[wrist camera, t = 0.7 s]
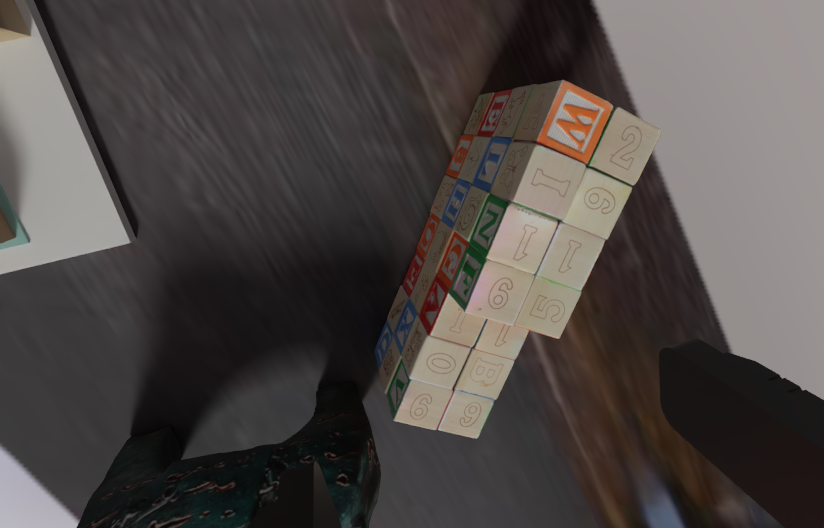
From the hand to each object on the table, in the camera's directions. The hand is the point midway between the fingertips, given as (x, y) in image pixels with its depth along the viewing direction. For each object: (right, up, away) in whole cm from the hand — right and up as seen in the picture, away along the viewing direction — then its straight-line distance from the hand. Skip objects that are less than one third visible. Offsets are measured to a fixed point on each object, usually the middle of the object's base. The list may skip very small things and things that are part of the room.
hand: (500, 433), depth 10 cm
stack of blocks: (+2, +6, +26) cm, 26 cm away
